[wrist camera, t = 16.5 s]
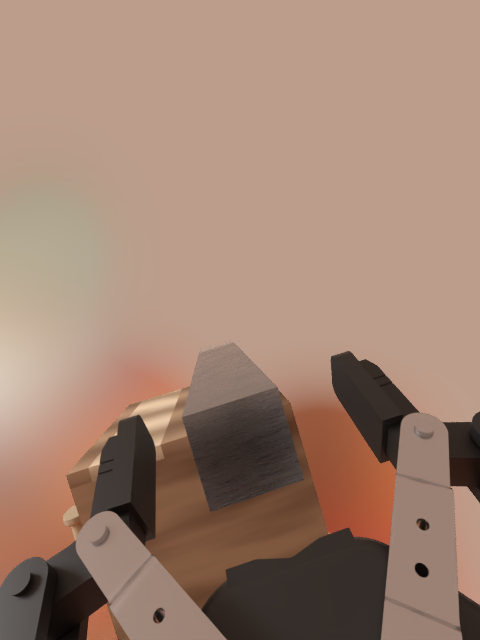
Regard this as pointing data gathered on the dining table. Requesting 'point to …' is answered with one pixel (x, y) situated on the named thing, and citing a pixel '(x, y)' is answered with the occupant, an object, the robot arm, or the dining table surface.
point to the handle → (73, 520)
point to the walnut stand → (206, 506)
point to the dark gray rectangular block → (237, 428)
